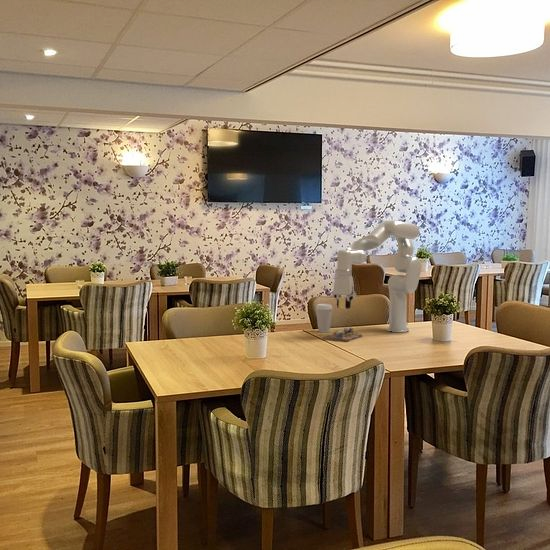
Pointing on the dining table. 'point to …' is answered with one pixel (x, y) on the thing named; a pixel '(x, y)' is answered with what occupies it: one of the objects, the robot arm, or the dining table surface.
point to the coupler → (342, 302)
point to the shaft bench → (343, 335)
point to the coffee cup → (324, 317)
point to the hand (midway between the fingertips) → (343, 307)
